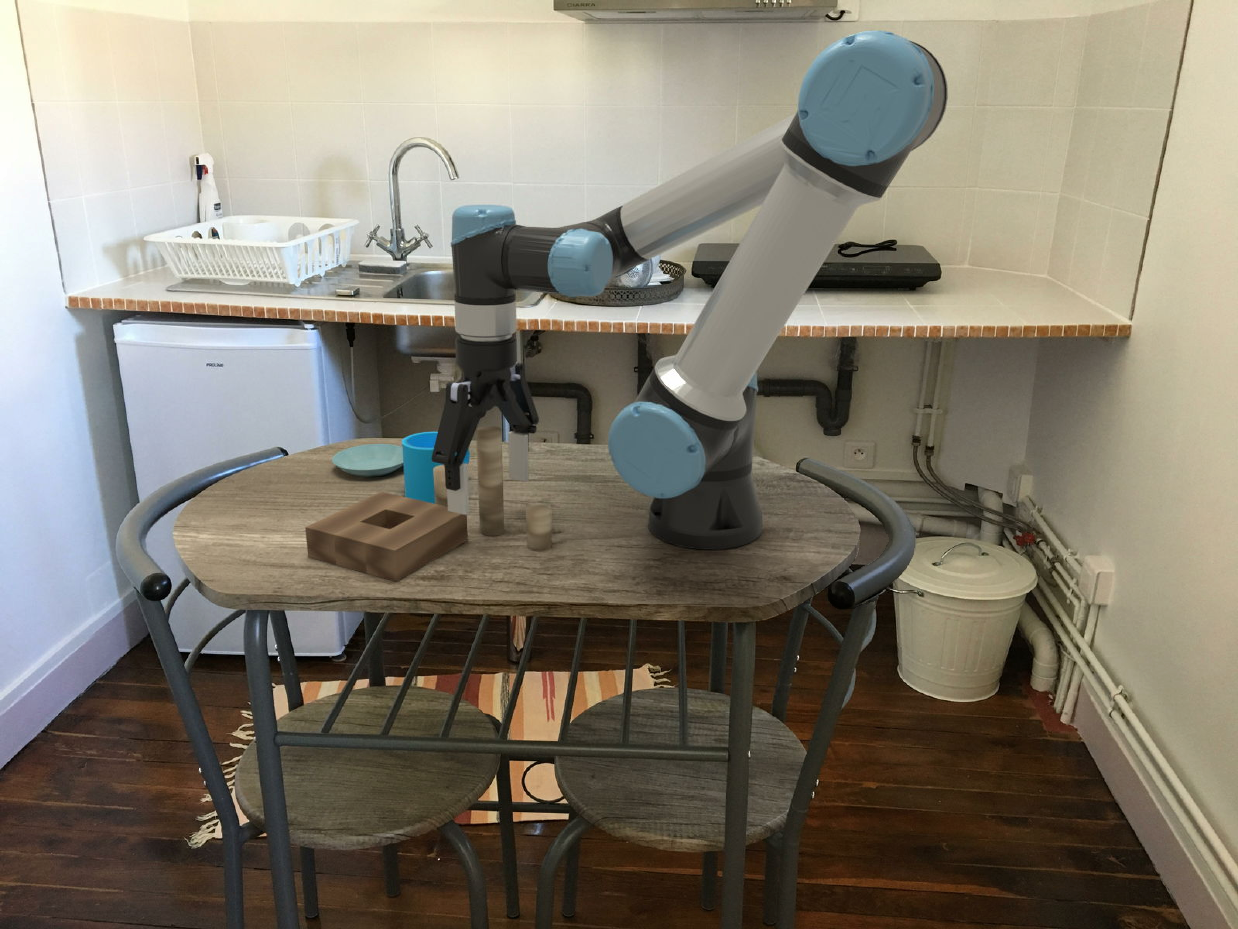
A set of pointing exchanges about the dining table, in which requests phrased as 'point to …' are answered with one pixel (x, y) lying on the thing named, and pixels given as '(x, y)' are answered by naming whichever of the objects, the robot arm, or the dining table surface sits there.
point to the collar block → (386, 535)
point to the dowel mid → (440, 486)
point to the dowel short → (539, 527)
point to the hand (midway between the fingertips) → (490, 495)
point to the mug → (421, 466)
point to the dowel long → (490, 480)
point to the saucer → (369, 459)
